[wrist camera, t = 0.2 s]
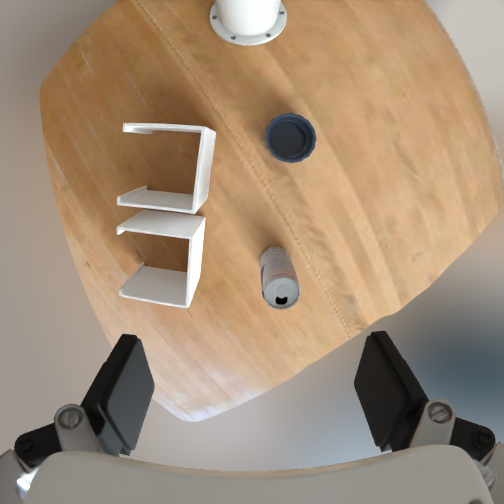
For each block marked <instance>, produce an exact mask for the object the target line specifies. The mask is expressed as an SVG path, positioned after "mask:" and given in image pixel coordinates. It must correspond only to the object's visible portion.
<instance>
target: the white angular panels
mask: <svg viewBox="0 0 504 504" xmlns="http://www.w3.org/2000/svg"><path fill="white" fill-rule="evenodd" d="M153 130H161V131H179V132H193V133H201V140H200V147H199V155H198V162H197V171H196V179H195V188H194V195H191V194H182V193H173V192H163V191H153V190H147V186H143V187H140V188H138V189H135V190H133V191H130V192H128V193H125V194H123V195H120V196H118V197H117V205H123V206H132V207H141V208H150V209H159V210H168V211H176V212H185V213H193V214H195V213H196V212H197V211H198V209H199V208H200V207H201V206H202V205H203V204H204V202H205V201H206V200H207V199H208V190H209V182H210V174H211V166H212V159H213V152H214V144H215V138H216V132H215V131H213V130H211V129H209V128H207V127H203V126H191V125H175V124H152V123H123V132H133V133H143V134H153ZM204 227H205V217H204V216H196V215H188V214H180V213H171V212H163V211H154V210H145V209H144V210H142V211H140V212H139V213H137V214H136V215H134V216H132V217H131V218H129V219H128V220H126V221H125V222H123V223H122V224H120V225H119V226H117V234H118V235H120V234H121V233H122V232H124V231H133V232H141V233H148V234H156V235H163V236H170V237H178V238H185V239H190V242H189V256H188V271H187V272H181V271H175V270H168V269H162V268H155V267H149V266H145V262H142V263H141V265H140V266H139V267H138V268H137V269H136V270H135V272H134V273H133V274H132V275H131V276H130V277H129V279H128V280H127V281H126V282H125V283H124V285H123V286H122V287H121V288H120V289H119V294H120V296H121V297H126V298H131V299H136V300H142V301H147V302H153V303H158V304H164V305H170V306H176V307H182V308H189V305H190V302H191V300H192V297H193V294H194V291H195V289H196V286H197V283H198V280H199V278H200V270H201V258H202V247H203V237H204Z"/></svg>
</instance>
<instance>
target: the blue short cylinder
mask: <svg viewBox="0 0 504 504" xmlns="http://www.w3.org/2000/svg"><path fill="white" fill-rule="evenodd" d="M264 143H265V147H266V149H267V150H268V152H269V153H270V155H271V156H273V157H274V158H276V159H278V160H280V161H284V162H289V163H294V162H300V161H302V160H304V159H305V158H307V157H308V156H309V155H310V154H311V153H312V151H313V150H314V148H315V143H316V135H315V130H314V128H313V127H312V125H311V124H310V122H309V121H308V120H306V119H305V118H304V117H302V116H300V115H296V114H292V113H289V114H283V115H280V116H278V117H276V118H275V119H273V120H272V121H271V123H270V124H269V125H268V127H267V128H266V130H265V134H264Z"/></svg>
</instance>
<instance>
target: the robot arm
mask: <svg viewBox="0 0 504 504" xmlns="http://www.w3.org/2000/svg"><path fill="white" fill-rule="evenodd" d="M282 14H283V15H282ZM215 18H216V19H215ZM286 19H287V12H286V9H285V6H284V5H283V3H282V2H281V0H215V3H214V5H213V6H212V8H211V11H210V23H211V26H212V28H213V30H214V31H215V32H216V33H217V35H218V36H220V37H221V38H222V39H224V40H226V41H228V42H230V43H233V44H237V45H244V46H252V45H259V44H262V43H266V42H268V41H270V40H272V39H274V38H275V37H276V36H278V35H279V34H280V33H281V32H282V30H283V28H284V27H285V24H286ZM266 36H269V37H266ZM233 38H235V39H234V40H232V39H233ZM354 387H355V390H356V392H357V395H358V397H359V400H360V403H361V406H362V408H363V411H364V413H365V417H366V419H367V422H368V425H369V427H370V431H371V433H372V436H373V439H374V442H375V445H376V446H380V449H381V452H384V451H387V450H392V452H391V453H388V454H384V455H380V456H376V457H371V458H366V459H361V460H357V461H351V462H346V463H340V464H334V465H327V466H321V467H313V468H303V469H293V470H279V471H217V470H202V469H191V468H181V467H174V466H167V465H161V464H155V463H148V462H143V461H137V460H133V459H128V458H123V457H119V454H124V455H128V456H129V455H130V452H131V450H134V449H135V447H136V444H137V441H138V438H139V434H140V431H141V428H142V425H143V422H144V419H145V416H146V412H147V409H148V406H149V403H150V400H151V397H152V395H153V392H154V381H153V378H152V375H151V372H150V369H149V365H148V362H147V359H146V355H145V352H144V349H143V345H142V342H141V340H140V339H138V338H137V336H136V335H130V334H122V335H121V337H120V339H119V340H118V342H117V344H116V345H115V347H114V349H113V350H112V352H111V354H110V356H109V357H108V359H107V361H106V362H105V363H104V364H103V365H102V367H101V369H100V370H99V372H98V374H97V376H96V377H95V379H94V381H93V383H92V385H91V387H90V388H89V390H88V392H87V394H86V396H85V398H84V400H83V401H82V403H81V405H80V406H79V405H76V404H68V405H65V406H63V407H61V408H60V409H59V410H58V411H57V412H56V414H55V417H54V423H52V424H49V425H47V426H44V427H41V428H39V429H36V430H33V431H30V432H27V433H25V434H22V435H21V436H19V437H18V438H17V440H16V442H15V446H14V448H15V449H14V450H13V451H12V450H11V449H9V450H8V451H6V452H5V453H4V454H2V455H1V456H0V504H504V444H503V443H501V442H498V443H495V436H494V434H493V432H492V431H491V430H490V429H489V428H487V427H484V426H481V425H478V424H475V423H472V422H469V421H466V420H463V419H460V418H457V417H456V412H455V409H454V407H453V406H452V404H450V403H449V402H448V401H446V400H443V399H433V400H431V401H429V400H428V398H427V396H426V394H425V393H424V391H423V389H422V387H421V386H420V384H419V382H418V381H417V379H416V378H415V376H414V374H413V372H412V371H411V369H410V367H409V366H408V364H407V363H406V361H405V360H404V359H403V358H402V356H401V355H400V353H399V351H398V350H397V348H396V347H395V345H394V344H393V342H392V340H391V339H390V337H389V336H388V334H387V333H386V331H377V332H372V333H371V335H370V336H368V337H367V338H366V342H365V346H364V350H363V353H362V357H361V360H360V364H359V367H358V370H357V374H356V377H355V380H354Z"/></svg>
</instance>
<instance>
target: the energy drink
mask: <svg viewBox="0 0 504 504" xmlns="http://www.w3.org/2000/svg"><path fill="white" fill-rule="evenodd" d="M260 271H261V283H262V295H263V298H264V300H265V301H266V302H267V304H268V305H269V306H271V307H272V308H275V309H280V310H282V309H287V308H290V307H292V306H293V305H294V304H295V303H296V302H297V301H298V299H299V297H300V292H301V287H300V283H299V281H298V278H297V275H296V272H295V269H294V266H293V263H292V261H291V258H290V255H289V253H288V252H287V251H286V250H285V249H283V248H281V247H271V248H268V249H266V250H265V251H264V252H263V253H262V255H261V257H260Z"/></svg>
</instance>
